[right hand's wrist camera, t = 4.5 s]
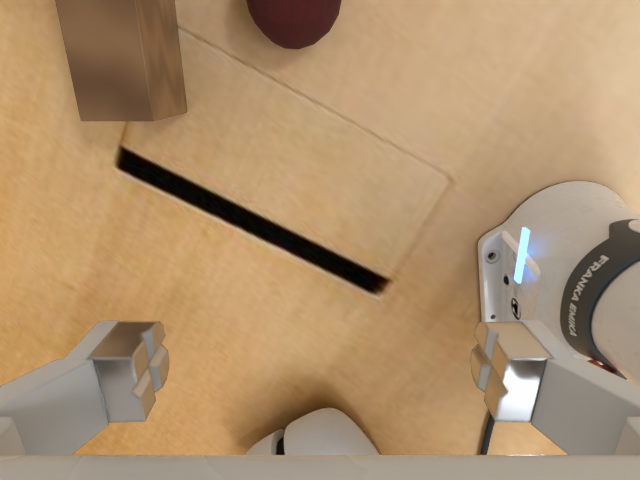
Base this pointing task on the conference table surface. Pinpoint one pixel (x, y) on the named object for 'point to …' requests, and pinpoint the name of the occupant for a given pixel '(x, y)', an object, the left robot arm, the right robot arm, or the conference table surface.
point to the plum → (294, 20)
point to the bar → (123, 58)
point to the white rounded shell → (317, 437)
